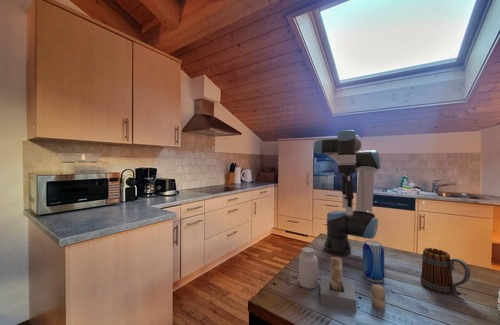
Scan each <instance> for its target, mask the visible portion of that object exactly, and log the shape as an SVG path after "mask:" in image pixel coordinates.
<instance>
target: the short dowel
mask: <svg viewBox="0 0 500 325" xmlns="http://www.w3.org/2000/svg"><path fill="white" fill-rule="evenodd" d="M385 295H386V290H385V287H383V286H382V285H380V284H372V285H371V306H372V307H373V309H375V310H377V311H381V312H383V311H385V310H386V296H385Z"/></svg>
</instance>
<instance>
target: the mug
mask: <svg viewBox="0 0 500 325" xmlns="http://www.w3.org/2000/svg"><path fill="white" fill-rule="evenodd" d="M421 256H422V257H421V259H422V262H421V263H422V264H421V275H420V283H421V285H422V286H423V287H424V288H426V289H427V290H429V291H431V292H433V293H434V292H435V293H437V294H440V295H451V294H454V295H456V296H462V295H463V294H464V291H462V290H457V287H460V286H461V285H464V284H466V283H467V282H469V280H470V277H471V268H470V266H469V265H468V264H467V262H466V261H464V260H463V259H460V258H457V257H454V258H451V255H450V254H449V253H448V252H447V251H444V250H443V249H438V248H434V247H433V248H432V247H428V248H427V247H425V248H423V251H422V255H421ZM455 262H456V263H458V264H460V265H461V266H462V267H463V270H464V275H463V277H462V279H461V280H460V281H458V282H455V283H454V282H453V275H452V274H453V271H455V270H457V268H456V267H455V265H454V263H455Z"/></svg>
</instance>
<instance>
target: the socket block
mask: <svg viewBox="0 0 500 325" xmlns="http://www.w3.org/2000/svg"><path fill="white" fill-rule="evenodd" d="M319 279H320V305H321V306H326V307H332V308H337V309H343V310H346V311H352V312H353V311H354V312H357V297H356V295H355V290H354V287H353V283H352V281H348V280H343V279H342V292H339V291H333V290H331V277H330V278H327V277H321V276H320V278H319Z"/></svg>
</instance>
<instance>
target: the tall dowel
mask: <svg viewBox="0 0 500 325" xmlns="http://www.w3.org/2000/svg"><path fill="white" fill-rule="evenodd" d="M330 279H331V290H333V291H339V292H342V280H343V259H342V258H340V257H338V256H332V257H330Z"/></svg>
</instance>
